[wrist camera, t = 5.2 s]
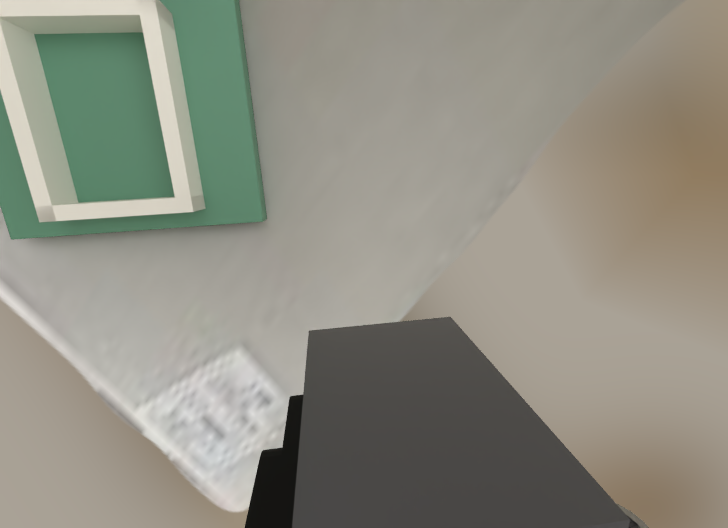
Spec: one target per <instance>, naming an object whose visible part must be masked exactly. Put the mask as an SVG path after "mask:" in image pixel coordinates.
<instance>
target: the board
mask: <svg viewBox="0 0 728 528" xmlns="http://www.w3.org/2000/svg"><path fill="white" fill-rule="evenodd" d="M0 206H1V209H2V212H3V215H4V219H5V222H6V225H7V228H8V231H9V234H10V237H11V239H25V238H39V237H53V236H67V235H81V234H95V233H109V232H123V231H137V230H151V229H165V228H179V227H193V226H207V225H221V224H235V223H249V222H263V221H264V220H266V219H267V216H266V208H265V200H264V192H263V184H262V177H261V169H260V161H259V153H258V146H257V138H256V130H255V122H254V114H253V107H252V99H251V91H250V83H249V76H248V68H247V60H246V52H245V44H244V37H243V29H242V21H241V13H240V6H239V0H0Z"/></svg>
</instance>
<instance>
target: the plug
mask: <svg viewBox="0 0 728 528" xmlns="http://www.w3.org/2000/svg"><path fill="white" fill-rule="evenodd" d="M629 522H630V519H629V518H628V517H627V515H626V514H625V513H624V512H623V511H622V510H621V509H620V508H619V506H618V505H617V504H616V503H615V502H614V501H613V500H612V499H611V497H610V496H609V495H608V494H607V493H606V492H605V491H604V490H603V488H602V487H601V486H600V485H599V484H598V483H597V482H596V481H595V479H594V478H593V477H592V476H591V475H590V474H589V473H588V472H587V470H586V469H585V468H584V467H583V466H582V465H581V464H580V463H579V461H578V460H577V459H576V458H575V457H574V456H573V455H572V454H571V452H570V451H569V450H568V449H567V448H566V447H565V446H564V444H563V443H562V442H561V441H560V440H559V439H558V438H557V437H556V436H555V434H554V433H553V432H552V431H551V430H550V429H549V428H548V426H547V425H546V424H545V423H544V422H543V421H542V420H541V418H540V417H539V416H538V415H537V414H536V413H535V412H534V411H533V410H532V408H531V407H530V406H529V405H528V404H527V403H526V402H525V400H524V399H523V398H522V397H521V396H520V395H519V394H518V393H517V391H516V390H515V389H514V388H513V387H512V386H511V385H510V384H509V382H508V381H507V380H506V379H505V378H504V377H503V376H502V375H501V374H500V372H499V371H498V370H497V369H496V368H495V367H494V366H493V364H492V363H491V362H490V361H489V360H488V359H487V358H486V356H485V355H484V354H483V353H482V352H481V351H480V350H479V349H478V347H477V346H476V345H475V344H474V343H473V342H472V341H471V340H470V339H469V337H468V336H467V335H466V334H465V333H464V332H463V331H462V329H461V328H460V327H459V326H458V325H457V324H456V323H455V322H454V320H453V319H452V318H451V317H445V318H434V319H425V320H414V321H404V322H393V323H383V324H373V325H363V326H353V327H343V328H333V329H322V330H312V331H309V337H308V348H307V360H306V371H305V383H304V395H303V406H302V418H301V429H300V441H299V453H298V464H297V476H296V487H295V499H294V511H293V522H292V528H629Z"/></svg>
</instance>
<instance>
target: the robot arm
mask: <svg viewBox="0 0 728 528" xmlns="http://www.w3.org/2000/svg"><path fill="white" fill-rule="evenodd" d="M302 406H303V395H297V396H290V399H289V406H288V413H287V420H286V427H285V434H284V441H283V448H277V449H269V450H263V451H262V453H261V456H260V460H259V464H258V469H257V474H256V478H255V483H254V487H253V492H252V496H251V501H250V506H249V510H248V515H247V520H246V524H245V528H292V522H293V511H294V499H295V487H296V476H297V464H298V453H299V441H300V429H301V418H302ZM617 505H618V504H617ZM618 506H619V508H620V509H621V510H622V511H623V512H624V513H625V514H626V515H627V517H628V518H629V519H630V522H629V528H648V526H647V525H646V524H645V523H644V522H643V521H642V520H641V519H639V518H638V517H637V516H636V515H635V514H633V513H632V512H631V511H629V510H627V509H625V508H624V507H622V506H620V505H618Z"/></svg>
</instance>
